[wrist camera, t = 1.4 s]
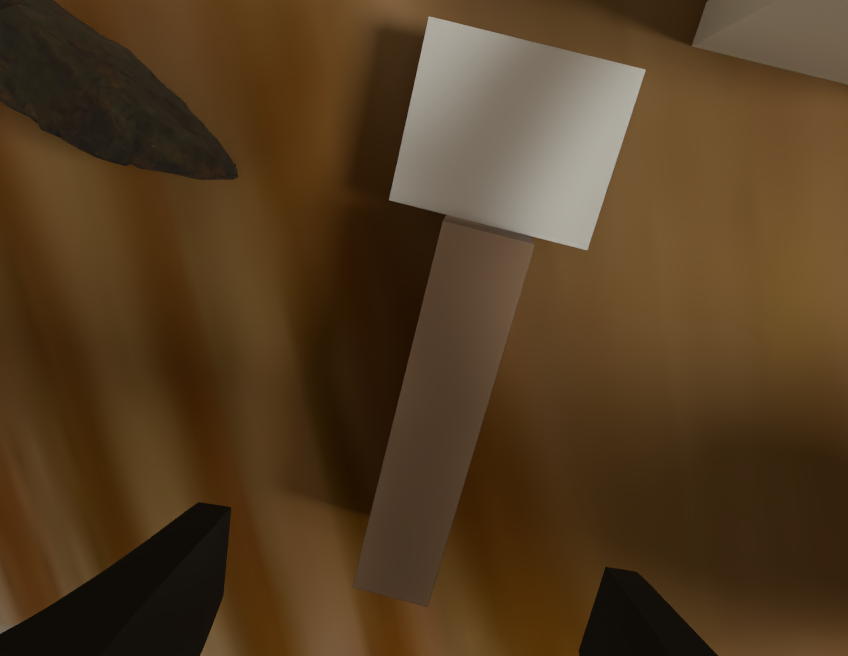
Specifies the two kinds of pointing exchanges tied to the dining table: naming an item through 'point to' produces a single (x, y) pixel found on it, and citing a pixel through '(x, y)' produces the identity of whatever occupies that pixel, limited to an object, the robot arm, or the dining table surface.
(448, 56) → the turner
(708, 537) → the dining table surface
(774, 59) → the tile
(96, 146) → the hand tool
